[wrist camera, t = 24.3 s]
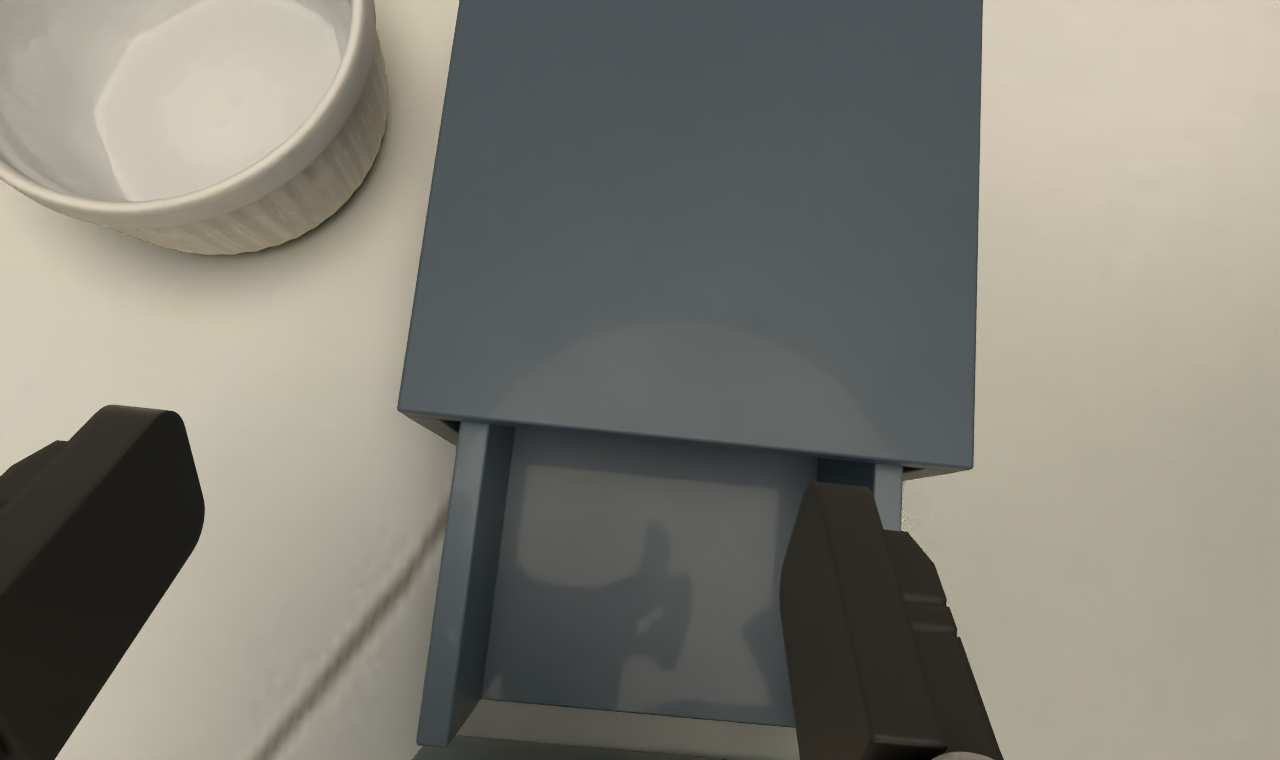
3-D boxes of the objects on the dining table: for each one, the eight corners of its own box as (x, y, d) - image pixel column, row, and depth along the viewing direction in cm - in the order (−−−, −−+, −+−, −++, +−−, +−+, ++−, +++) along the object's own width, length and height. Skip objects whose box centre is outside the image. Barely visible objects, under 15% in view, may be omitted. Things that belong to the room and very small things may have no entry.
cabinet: (860, 488, 30) (975, 470, 21) (458, 447, 30) (395, 411, 20) (877, 118, 33) (985, -40, 24) (509, 76, 32) (474, -102, 23)
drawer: (830, 950, 26) (918, 1110, 19) (407, 915, 26) (332, 1065, 19) (856, 405, 30) (939, 364, 22) (481, 366, 29) (443, 312, 22)
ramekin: (46, -4, 32) (-103, -149, 25) (384, -59, 33) (328, -212, 26) (84, 316, 30) (-69, 253, 23) (443, 246, 31) (400, 166, 24)
